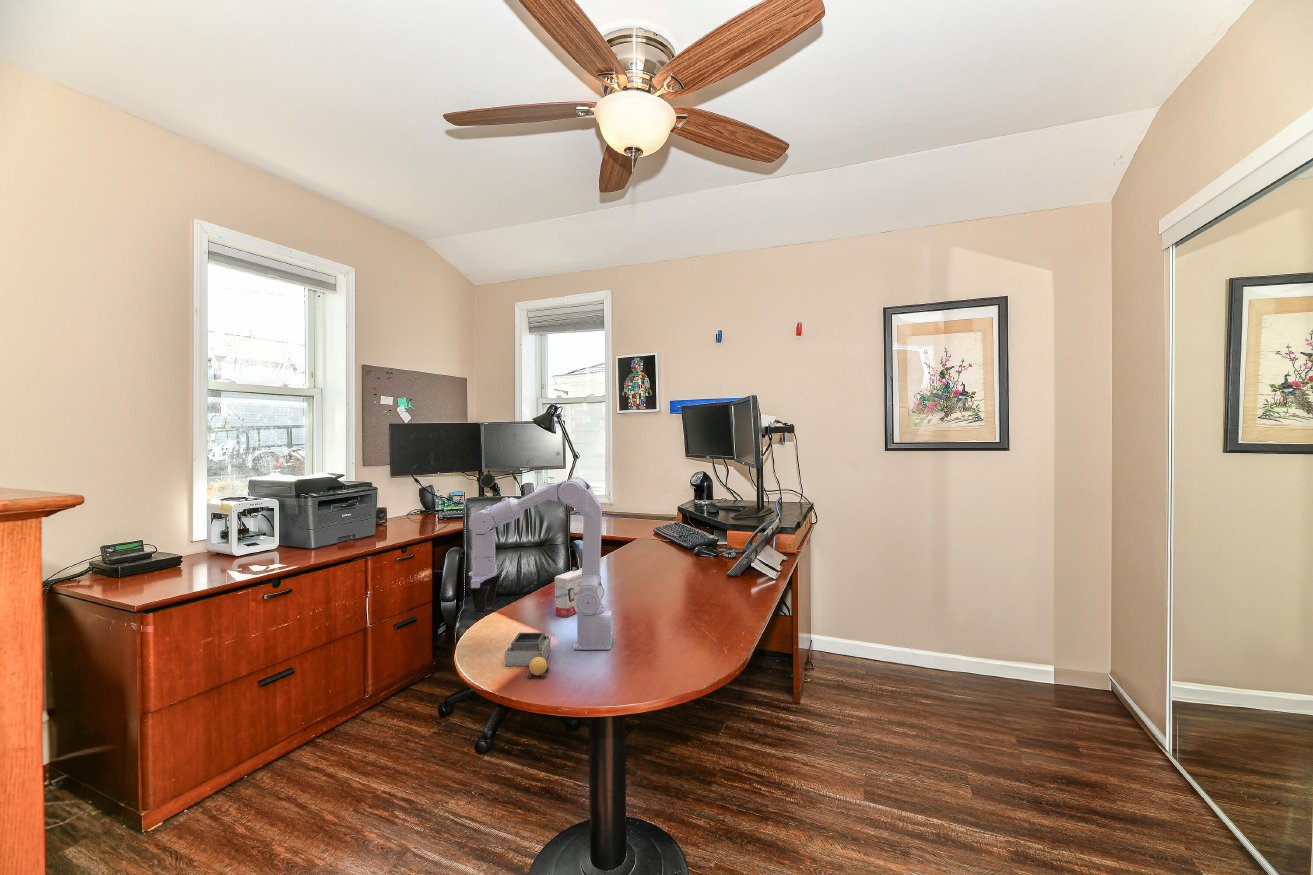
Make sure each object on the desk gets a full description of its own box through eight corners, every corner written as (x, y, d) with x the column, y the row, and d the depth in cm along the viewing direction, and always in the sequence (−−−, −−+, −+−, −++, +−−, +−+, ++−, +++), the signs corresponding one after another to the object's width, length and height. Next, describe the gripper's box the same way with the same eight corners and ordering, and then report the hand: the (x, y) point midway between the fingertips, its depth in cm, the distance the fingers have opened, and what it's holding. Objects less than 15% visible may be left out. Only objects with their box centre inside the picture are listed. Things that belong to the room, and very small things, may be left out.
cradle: (548, 670, 125) (548, 667, 125) (544, 678, 121) (544, 675, 121) (531, 670, 125) (531, 667, 125) (527, 678, 121) (527, 675, 121)
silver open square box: (550, 649, 137) (550, 630, 136) (542, 665, 128) (542, 645, 127) (516, 650, 137) (515, 630, 137) (505, 665, 128) (505, 645, 128)
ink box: (567, 618, 159) (566, 579, 159) (554, 615, 162) (553, 576, 161) (584, 609, 167) (584, 572, 166) (572, 606, 169) (571, 570, 169)
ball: (548, 670, 125) (548, 653, 125) (544, 678, 121) (544, 661, 121) (531, 670, 125) (531, 653, 125) (527, 678, 121) (527, 661, 121)
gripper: (478, 549, 147) (479, 597, 147) (458, 562, 133) (459, 616, 133) (504, 549, 147) (504, 597, 147) (486, 562, 132) (487, 616, 133)
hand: (485, 606), depth 140 cm, fingers open, 7 cm apart
